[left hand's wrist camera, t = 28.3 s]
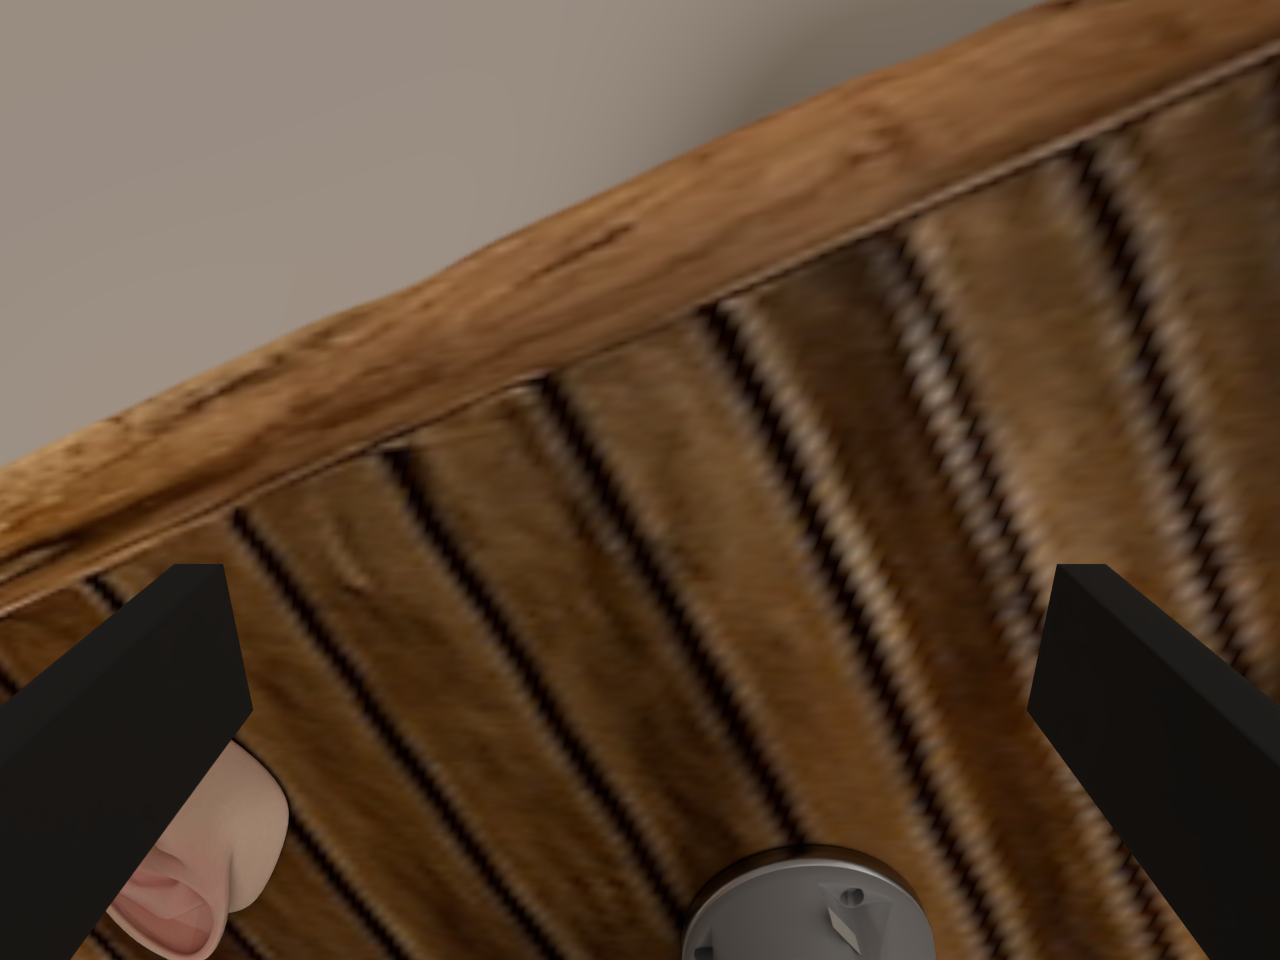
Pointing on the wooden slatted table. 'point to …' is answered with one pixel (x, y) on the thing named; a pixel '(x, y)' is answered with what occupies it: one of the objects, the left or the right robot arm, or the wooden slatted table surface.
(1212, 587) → the wooden slatted table surface
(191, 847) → the anatomical model
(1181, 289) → the wooden slatted table surface
